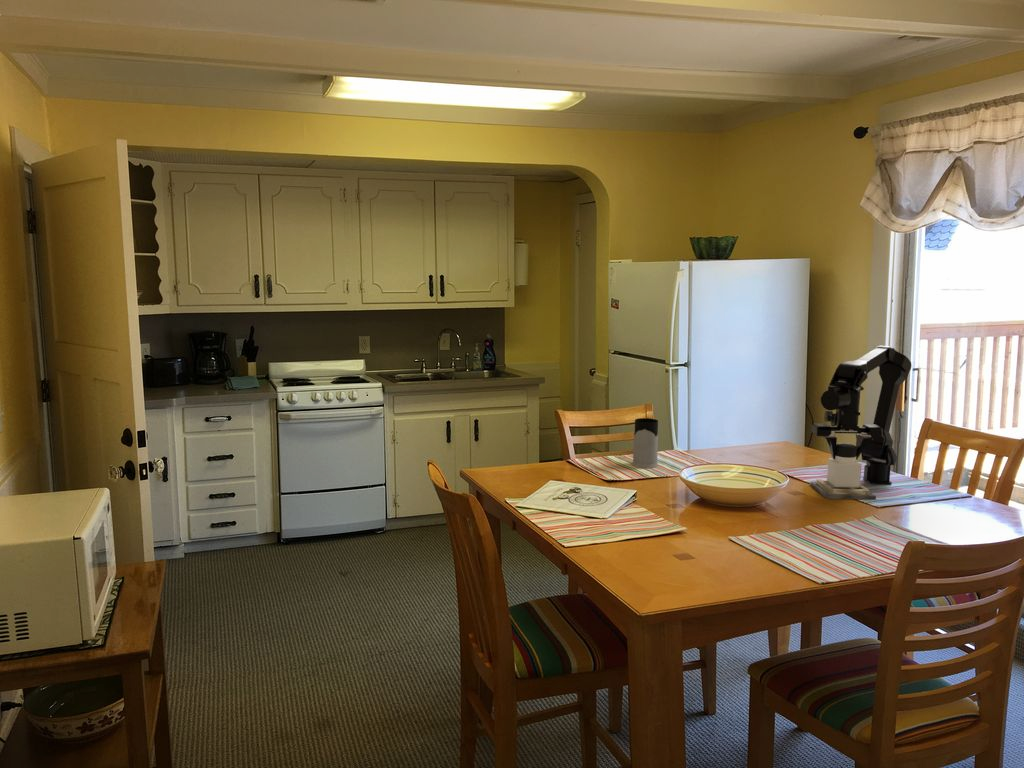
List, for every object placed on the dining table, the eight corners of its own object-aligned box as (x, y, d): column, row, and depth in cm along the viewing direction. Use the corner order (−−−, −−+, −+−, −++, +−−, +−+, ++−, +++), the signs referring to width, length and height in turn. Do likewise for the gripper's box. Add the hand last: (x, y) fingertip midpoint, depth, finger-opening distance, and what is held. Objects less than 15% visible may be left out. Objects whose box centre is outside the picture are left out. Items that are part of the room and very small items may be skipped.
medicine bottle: (860, 487, 238) (863, 447, 236) (835, 487, 238) (838, 447, 236) (850, 481, 245) (853, 441, 243) (826, 480, 245) (829, 441, 243)
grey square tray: (857, 486, 248) (858, 479, 248) (875, 499, 234) (876, 492, 234) (810, 485, 249) (811, 478, 249) (825, 498, 235) (826, 490, 235)
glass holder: (629, 467, 268) (631, 421, 266) (636, 457, 282) (637, 414, 280) (656, 469, 266) (658, 423, 264) (661, 459, 279) (663, 415, 277)
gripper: (870, 402, 245) (867, 453, 248) (807, 401, 246) (804, 452, 249) (885, 409, 234) (881, 462, 237) (819, 408, 235) (815, 461, 238)
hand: (844, 459), depth 240 cm, fingers closed on medicine bottle, 6 cm apart
